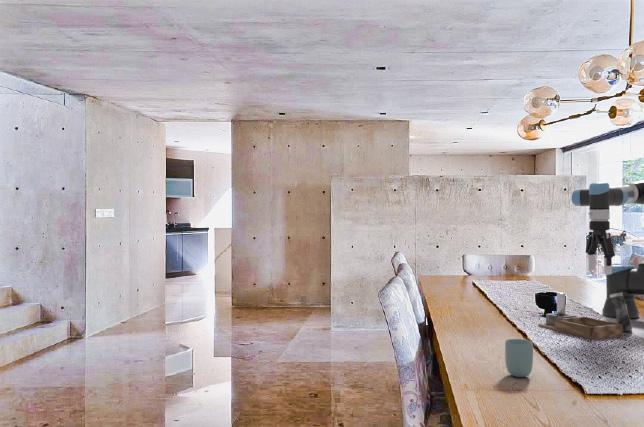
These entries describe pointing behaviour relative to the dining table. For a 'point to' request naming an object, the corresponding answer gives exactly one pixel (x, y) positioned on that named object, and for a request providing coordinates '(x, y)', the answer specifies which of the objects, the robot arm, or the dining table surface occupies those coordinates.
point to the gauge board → (583, 326)
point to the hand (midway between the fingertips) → (599, 272)
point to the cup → (519, 357)
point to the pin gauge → (561, 304)
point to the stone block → (621, 310)
